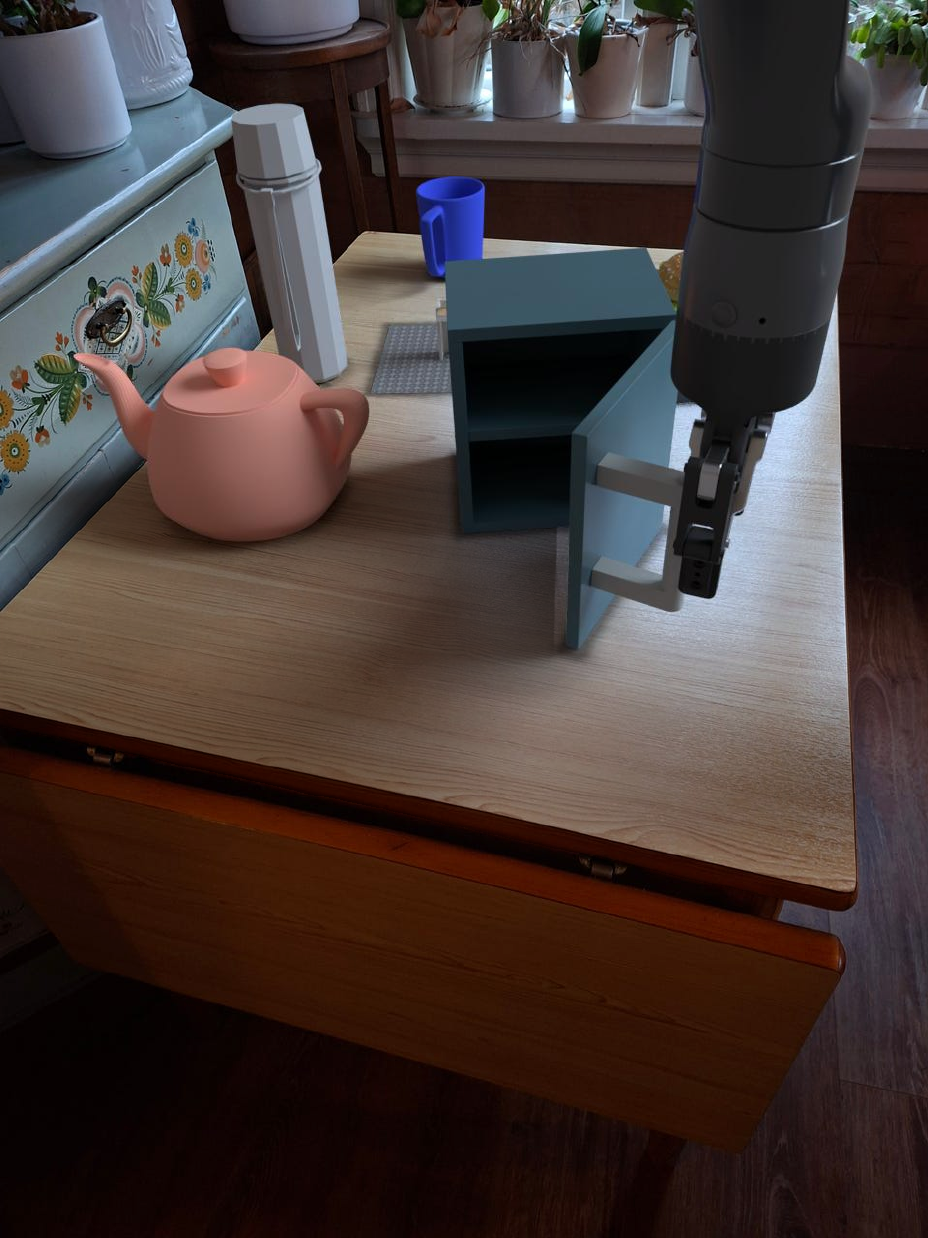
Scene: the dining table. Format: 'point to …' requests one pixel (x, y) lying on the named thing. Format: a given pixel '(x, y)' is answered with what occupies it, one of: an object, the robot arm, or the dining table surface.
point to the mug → (451, 221)
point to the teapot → (240, 442)
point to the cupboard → (539, 370)
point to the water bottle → (291, 235)
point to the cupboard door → (624, 494)
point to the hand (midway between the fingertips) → (712, 549)
